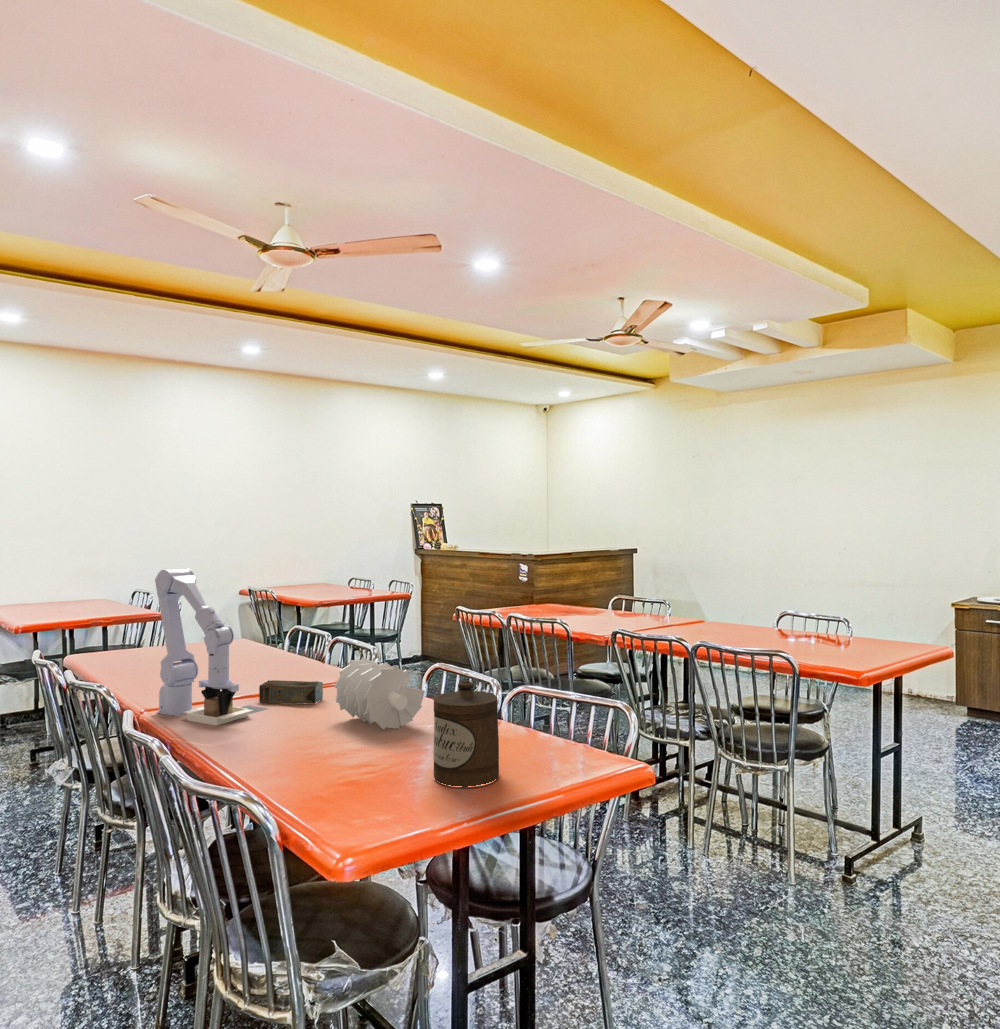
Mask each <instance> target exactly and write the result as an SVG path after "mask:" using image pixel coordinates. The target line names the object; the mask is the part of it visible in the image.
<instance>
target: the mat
mask: <svg viewBox="0 0 1000 1029" xmlns="http://www.w3.org/2000/svg"><path fill="white" fill-rule="evenodd" d="M239 708H246V709H249V710H253V711H252V712H249V715H252V714H255V713H258V712H261V711H266V710H269V708H268V707H267V708H266V707H260V706H254V705H244V706H241V707H240V706H239Z"/></svg>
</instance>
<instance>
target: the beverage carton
mask: <svg viewBox="0 0 1000 1029" xmlns="http://www.w3.org/2000/svg"><path fill="white" fill-rule="evenodd" d="M258 687H259V688H258V691H259V692H258V694H259V696H258V697H259V700H258V701H259V702H260V703H259V704H276V703H316V702H318V701H319V700H320V701H322V700H323V699H324V698H323V697H324V691H323V690H324V683H323V682H322V681H317V680H316V681H303V680H300V681H299V680H298V681H297V680H277V679H276V680H275V679H274V680H269V679H268V680H266V682H265V681H264V682H263V683H262V684H260V685H259V686H258ZM322 698H323V699H322ZM321 699H322V700H321ZM320 701H319V702H320ZM319 702H318V703H319Z"/></svg>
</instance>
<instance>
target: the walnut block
mask: <svg viewBox="0 0 1000 1029" xmlns="http://www.w3.org/2000/svg"><path fill="white" fill-rule="evenodd" d="M233 700H234V698H232V700H231V702H230V706H229V709H228V713H227V714H231V713H233V707H234V706H233V704H234V703H233ZM203 707H204V715H205V716H211V717H220V716H223V715H220V708H219V700H218V697H217V696H216V697H212V698H208V699H205V698H204V699H203ZM227 714H226V715H227Z"/></svg>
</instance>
